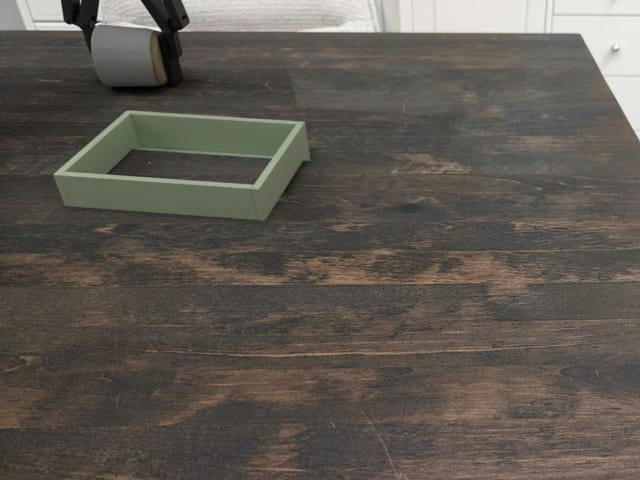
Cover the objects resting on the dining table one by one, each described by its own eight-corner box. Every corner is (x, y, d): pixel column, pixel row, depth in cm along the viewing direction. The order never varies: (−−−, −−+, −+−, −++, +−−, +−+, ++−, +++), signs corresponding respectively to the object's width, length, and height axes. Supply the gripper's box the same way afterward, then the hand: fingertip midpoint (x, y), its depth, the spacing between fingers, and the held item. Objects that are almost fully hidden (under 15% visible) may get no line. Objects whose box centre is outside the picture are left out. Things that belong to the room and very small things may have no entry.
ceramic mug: (165, 94, 99) (149, 34, 94) (102, 95, 99) (83, 34, 94) (182, 67, 107) (169, 10, 102) (124, 67, 107) (107, 10, 102)
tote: (69, 217, 75) (52, 174, 72) (138, 150, 87) (126, 110, 84) (267, 232, 74) (258, 189, 71) (310, 161, 86) (305, 121, 82)
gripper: (190, -114, 90) (228, 73, 105) (21, -121, 91) (83, 65, 106) (164, -103, 84) (208, 94, 99) (-16, -110, 86) (55, 85, 101)
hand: (143, 79), depth 103 cm, fingers closed on ceramic mug, 9 cm apart
